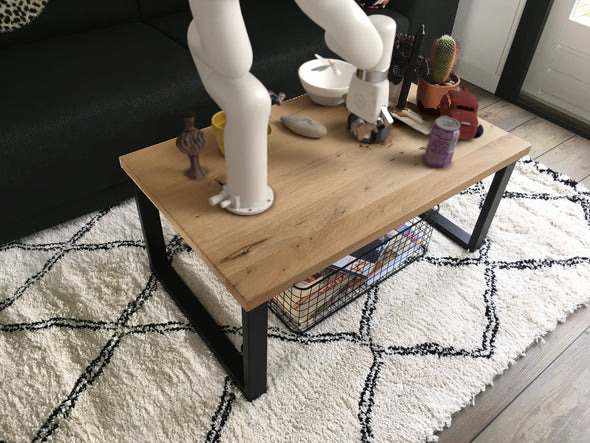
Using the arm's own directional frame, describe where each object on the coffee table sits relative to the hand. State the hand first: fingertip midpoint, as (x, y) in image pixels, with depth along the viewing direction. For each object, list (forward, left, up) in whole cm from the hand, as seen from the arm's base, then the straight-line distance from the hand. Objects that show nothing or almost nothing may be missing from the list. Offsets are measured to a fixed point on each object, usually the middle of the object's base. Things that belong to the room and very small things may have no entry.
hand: (362, 134), depth 129 cm
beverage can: (+17, -13, -8) cm, 23 cm away
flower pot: (-25, +23, -8) cm, 35 cm away
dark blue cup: (+12, +8, -8) cm, 16 cm away
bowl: (+16, +30, -8) cm, 35 cm away
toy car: (+36, -2, -8) cm, 37 cm away
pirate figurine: (-20, +25, -3) cm, 32 cm away
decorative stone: (-3, +20, -8) cm, 22 cm away
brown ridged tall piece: (-38, +21, -8) cm, 44 cm away
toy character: (0, -1, -1) cm, 1 cm away
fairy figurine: (+13, +26, +1) cm, 29 cm away
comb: (+21, +3, -6) cm, 22 cm away
